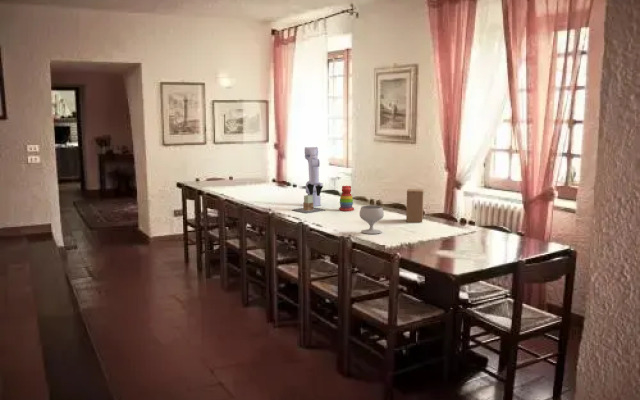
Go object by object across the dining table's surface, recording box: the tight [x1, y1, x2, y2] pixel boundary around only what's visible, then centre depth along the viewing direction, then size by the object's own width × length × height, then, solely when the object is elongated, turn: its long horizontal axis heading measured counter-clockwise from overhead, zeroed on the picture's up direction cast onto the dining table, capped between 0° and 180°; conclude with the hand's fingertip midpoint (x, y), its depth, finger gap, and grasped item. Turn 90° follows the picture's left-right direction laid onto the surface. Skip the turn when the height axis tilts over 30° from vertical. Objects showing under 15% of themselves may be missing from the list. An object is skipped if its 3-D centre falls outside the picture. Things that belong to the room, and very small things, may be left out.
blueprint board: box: [291, 206, 326, 214], centre depth 401 cm, size 18×16×1 cm
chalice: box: [359, 204, 385, 235], centre depth 325 cm, size 14×14×15 cm
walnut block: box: [302, 202, 314, 210], centre depth 400 cm, size 5×5×5 cm
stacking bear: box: [338, 185, 355, 212], centre depth 399 cm, size 11×10×18 cm
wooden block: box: [405, 188, 424, 223], centre depth 359 cm, size 10×10×20 cm
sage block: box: [303, 194, 313, 203], centre depth 399 cm, size 4×4×5 cm
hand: (314, 195), depth 403 cm, fingers open, 7 cm apart
